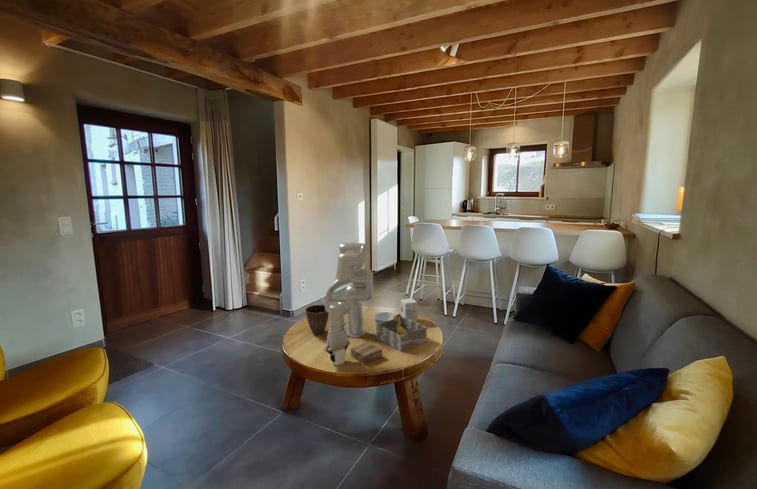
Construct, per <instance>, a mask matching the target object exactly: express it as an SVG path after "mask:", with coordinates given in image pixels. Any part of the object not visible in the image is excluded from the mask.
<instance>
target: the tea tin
mask: <svg viewBox="0 0 757 489" xmlns="http://www.w3.org/2000/svg"><path fill="white" fill-rule="evenodd" d="M334 355H335V362H333V361H332V362H333V365H334V366H339V365H342V364H344V362H345V363H346V351H345V348H344V347H342V348H339V349H336V350H334ZM332 362H331V363H332ZM341 363H342V364H341ZM338 364H339V365H338Z"/></svg>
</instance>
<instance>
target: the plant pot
mask: <svg viewBox="0 0 757 489" xmlns="http://www.w3.org/2000/svg"><path fill="white" fill-rule="evenodd" d="M305 314H306V315H305V316H306V319H307V322H308V325H309V328H310V331H311V334H313V333H314V334H313V335H315V334H320V335H323V334H324V332H325V330H326V328H327V325H328V324H327V323H328V322H329V321H328V320H329V312H327V311H326V310H325V304H316V305H315V304H314V305H310V306H308V307H306V308H305ZM322 333H323V334H322Z"/></svg>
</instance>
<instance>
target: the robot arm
mask: <svg viewBox="0 0 757 489" xmlns="http://www.w3.org/2000/svg"><path fill="white" fill-rule="evenodd" d="M338 249H339V253H340V254H339V255H338V259H337V266H336V276H335V280H334V281H333V283H331V284H330V285H329V287H328V289H327V291H326V293H325V300H324V305H325V310H326V311H327V312H329V315H328V320H329V321H328V322H329V330H328V331H327V337H326V339H327V340H326V346H325V348H324V350H323V351H324V352H326V353H327V354H329V355H330V362H331V361H333V362H335V355H334V350H336V349H339V348H342V347H344V348H345V352H346V351H347V349H348V347H349V346H350V345H351V342H350V341H349V340H348V337H349V338H360V337H363V336H364V335H366V330H365V329H364V328H363V327H364V325H363V324H364V323H363V321H364V319H363V305H362V303H361V302H371V301H372V300H373V298H374V274H373V272H372V270H371V268H370V269H369V268H363V266H364V265H365V263H366V261H367V260H366V259H367V257H368V255H369V246H368V245H367V243H364V242H362V243H361V242H360V243H359V242H343V243H341V244H339V246H338ZM348 284H351V285H348ZM345 285H348V286H346V288H345V291H344V293H345V299H339V298H333V296H334V295H333V294H334V293H335V292H336V290H338V289H339V288H341V287H342V286H345ZM345 315H347V324H346V322H345ZM345 326H346V327H347V330H346V328H345Z"/></svg>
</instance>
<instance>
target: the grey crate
mask: <svg viewBox="0 0 757 489" xmlns="http://www.w3.org/2000/svg"><path fill="white" fill-rule="evenodd" d="M400 319H401V326H402V327H403V328H404V329H406V331H407V333H406V334H403V335H398V334H396V333H394V332H396V331H397V330H396V327H397V323H398V321H396V322H394V321H393V319H392V320H388V321H385V322H382V323H378V324H377V323H376V324H375V325H376V339H377V340H379V341H380V342H383V343H385V344H386V345H388V346H389V347H392V348H394V349H396V350H397V351H398V352H402V351H405V350H408V349H410V348H413V347H417V346H418V345H421V344H423V343H426V342H427V338H428V335H427V333H428V332H427V330H428V329H427V328H428V327H427V326H425V325H423V324H420V323H418V322H417V323H416V322H414V321H411V320H409V319H407V318H405V317H401V318H400Z"/></svg>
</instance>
